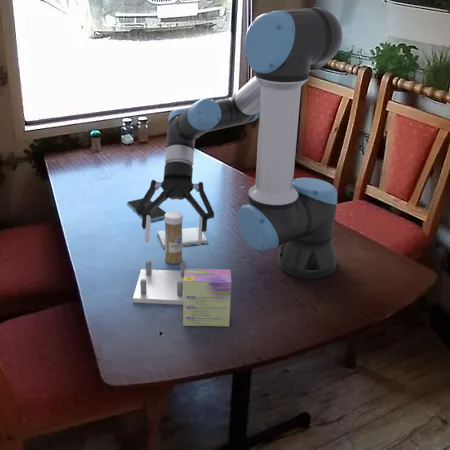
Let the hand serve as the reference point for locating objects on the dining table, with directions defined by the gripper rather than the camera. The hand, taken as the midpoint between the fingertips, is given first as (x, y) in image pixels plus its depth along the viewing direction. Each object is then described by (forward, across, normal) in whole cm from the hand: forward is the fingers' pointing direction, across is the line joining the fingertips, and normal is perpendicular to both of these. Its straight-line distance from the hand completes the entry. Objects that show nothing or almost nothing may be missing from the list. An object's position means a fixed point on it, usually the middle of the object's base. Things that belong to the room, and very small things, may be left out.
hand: (173, 242), depth 165 cm
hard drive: (-4, -1, -14) cm, 14 cm away
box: (+22, -10, +13) cm, 27 cm away
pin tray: (+13, +1, +5) cm, 14 cm away
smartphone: (-16, +11, -25) cm, 32 cm away
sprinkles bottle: (+4, 0, -5) cm, 6 cm away
